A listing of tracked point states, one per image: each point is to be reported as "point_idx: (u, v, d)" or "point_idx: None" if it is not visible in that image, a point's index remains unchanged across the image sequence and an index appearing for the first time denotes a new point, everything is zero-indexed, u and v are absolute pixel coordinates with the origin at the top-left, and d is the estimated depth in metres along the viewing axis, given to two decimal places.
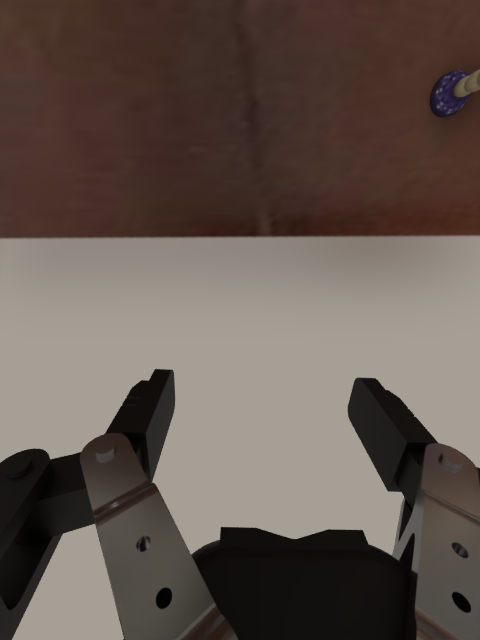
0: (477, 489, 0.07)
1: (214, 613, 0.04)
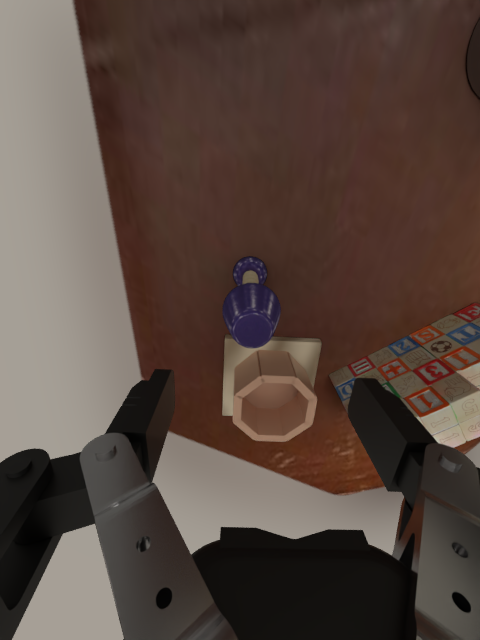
0: (477, 489, 0.07)
1: (214, 613, 0.04)
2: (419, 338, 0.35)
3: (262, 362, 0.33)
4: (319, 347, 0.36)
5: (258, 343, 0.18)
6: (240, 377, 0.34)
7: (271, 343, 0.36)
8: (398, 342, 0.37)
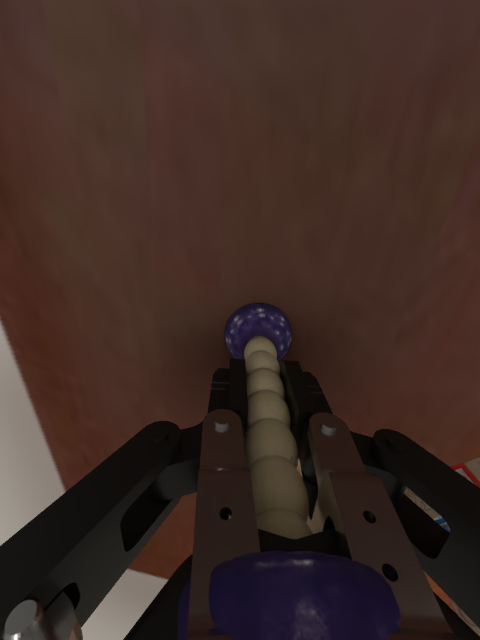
0: (339, 447, 0.08)
1: None
2: None
3: None
4: None
5: None
6: None
7: None
8: None
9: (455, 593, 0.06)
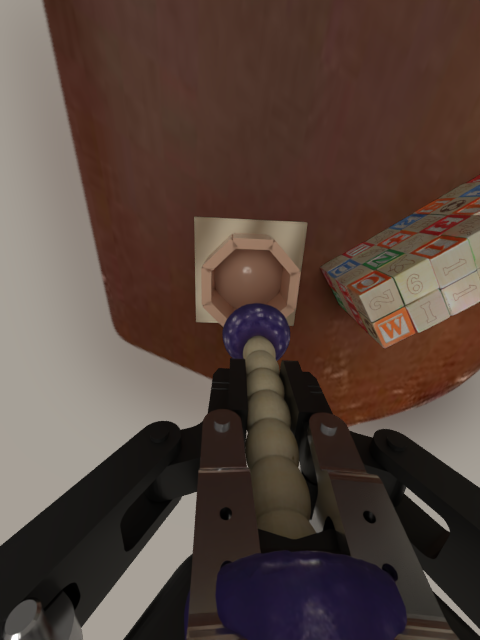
0: (339, 447, 0.08)
1: None
2: (425, 211, 0.30)
3: (236, 235, 0.28)
4: (305, 229, 0.31)
5: None
6: (211, 255, 0.29)
7: (249, 223, 0.31)
8: (401, 221, 0.32)
9: (455, 593, 0.06)
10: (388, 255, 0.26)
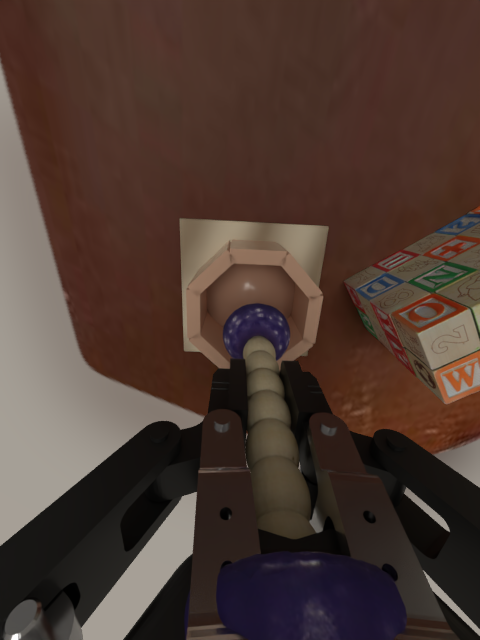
0: (339, 447, 0.08)
1: None
2: None
3: (235, 243, 0.21)
4: (325, 235, 0.24)
5: None
6: (200, 270, 0.21)
7: (251, 227, 0.23)
8: (451, 224, 0.24)
9: (455, 593, 0.06)
10: (448, 271, 0.19)
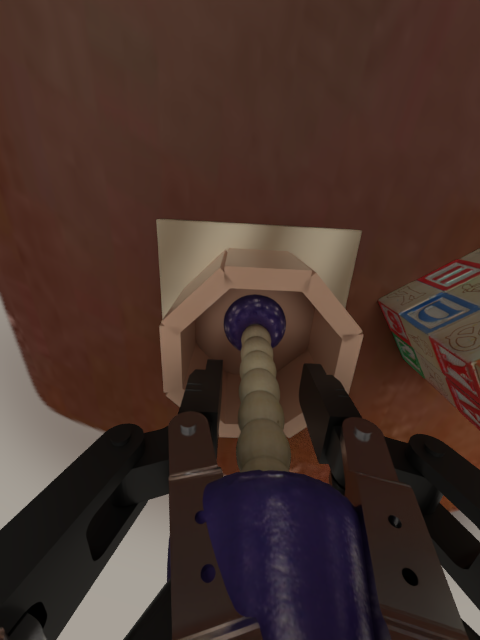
0: (377, 453, 0.07)
1: None
2: None
3: (233, 256, 0.14)
4: (356, 242, 0.17)
5: None
6: (184, 293, 0.15)
7: (256, 232, 0.17)
8: None
9: None
10: None
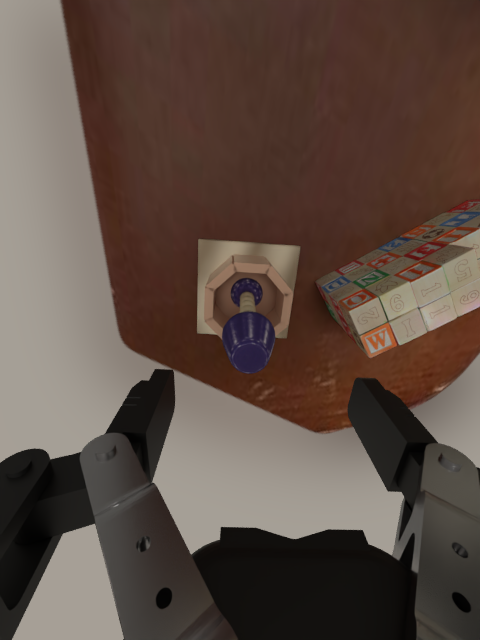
0: (477, 489, 0.07)
1: (214, 613, 0.04)
2: (410, 235, 0.34)
3: (236, 258, 0.31)
4: (298, 252, 0.34)
5: (255, 369, 0.20)
6: (213, 275, 0.32)
7: (247, 246, 0.34)
8: (388, 243, 0.35)
9: None
10: (375, 275, 0.29)
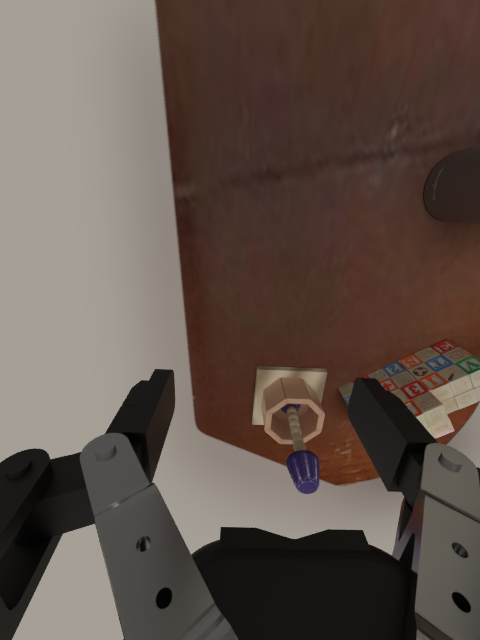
0: (477, 489, 0.07)
1: (214, 613, 0.04)
2: (405, 364, 0.48)
3: (285, 388, 0.47)
4: (325, 375, 0.49)
5: (310, 492, 0.36)
6: (269, 398, 0.47)
7: (290, 372, 0.49)
8: (390, 365, 0.50)
9: None
10: None
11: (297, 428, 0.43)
